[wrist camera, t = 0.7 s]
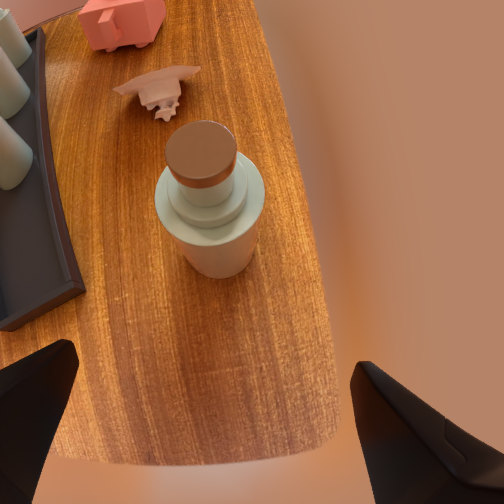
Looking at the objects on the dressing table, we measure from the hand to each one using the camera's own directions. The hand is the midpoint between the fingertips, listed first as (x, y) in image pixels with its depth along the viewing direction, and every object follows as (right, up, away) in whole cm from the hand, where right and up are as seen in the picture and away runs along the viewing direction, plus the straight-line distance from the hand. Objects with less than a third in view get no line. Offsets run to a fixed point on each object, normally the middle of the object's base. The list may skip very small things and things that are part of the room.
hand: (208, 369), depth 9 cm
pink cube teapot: (-13, +30, +20) cm, 39 cm away
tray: (-25, +17, +16) cm, 34 cm away
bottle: (-1, +4, +14) cm, 15 cm away
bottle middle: (-28, +22, +17) cm, 39 cm away
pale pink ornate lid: (-7, +18, +18) cm, 26 cm away
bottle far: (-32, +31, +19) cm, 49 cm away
